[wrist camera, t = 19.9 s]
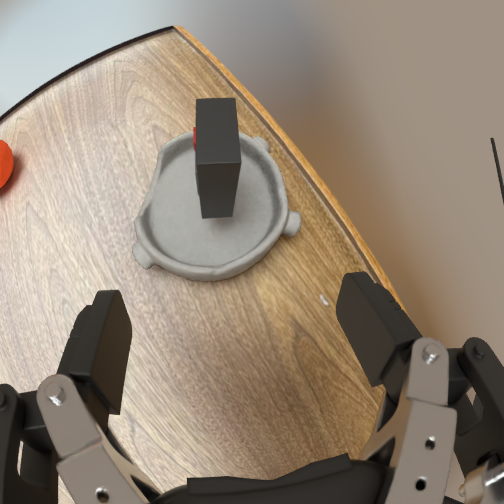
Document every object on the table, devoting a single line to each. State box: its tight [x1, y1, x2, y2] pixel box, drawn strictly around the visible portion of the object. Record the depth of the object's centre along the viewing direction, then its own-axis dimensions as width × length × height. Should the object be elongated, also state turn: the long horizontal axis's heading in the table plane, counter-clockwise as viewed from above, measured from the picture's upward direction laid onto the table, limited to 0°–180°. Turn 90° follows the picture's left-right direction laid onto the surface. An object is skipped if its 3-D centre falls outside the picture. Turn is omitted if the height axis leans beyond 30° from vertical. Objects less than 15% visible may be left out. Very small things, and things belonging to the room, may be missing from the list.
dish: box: [132, 131, 301, 281], centre depth 25 cm, size 14×14×5 cm
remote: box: [193, 98, 242, 219], centre depth 18 cm, size 2×5×8 cm, turn 6°
